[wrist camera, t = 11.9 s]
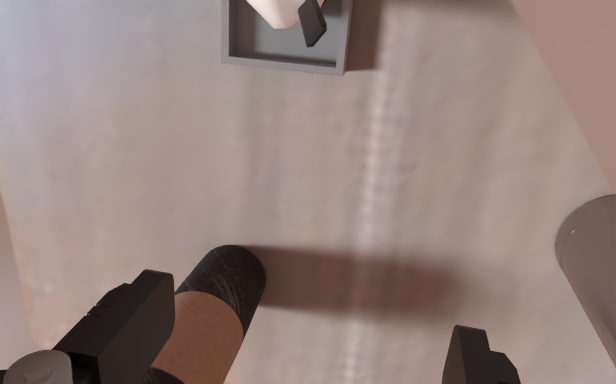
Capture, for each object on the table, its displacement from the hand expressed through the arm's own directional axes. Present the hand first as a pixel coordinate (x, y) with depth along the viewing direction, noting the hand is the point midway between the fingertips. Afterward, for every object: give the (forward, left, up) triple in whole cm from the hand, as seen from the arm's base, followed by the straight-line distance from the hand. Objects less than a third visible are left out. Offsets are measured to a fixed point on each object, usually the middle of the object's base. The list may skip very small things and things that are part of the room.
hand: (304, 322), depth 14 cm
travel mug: (+12, +20, -30) cm, 38 cm away
